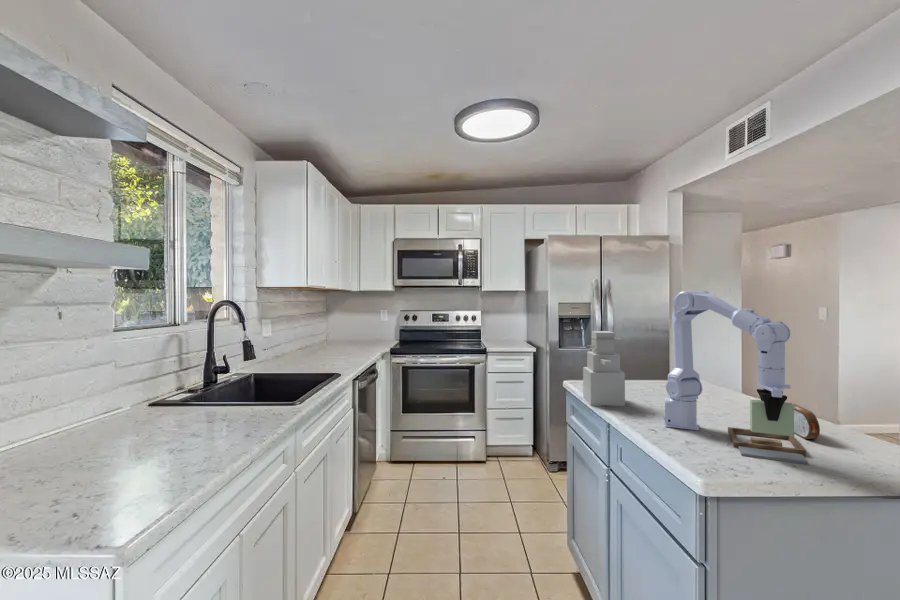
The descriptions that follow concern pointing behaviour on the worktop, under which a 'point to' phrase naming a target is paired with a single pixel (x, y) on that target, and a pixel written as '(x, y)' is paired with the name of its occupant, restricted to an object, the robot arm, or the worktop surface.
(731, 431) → the brown flat square frame
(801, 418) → the tin
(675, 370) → the robot arm
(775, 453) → the slate mat
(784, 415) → the board
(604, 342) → the stacked tiered boxes
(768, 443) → the offcut stack
